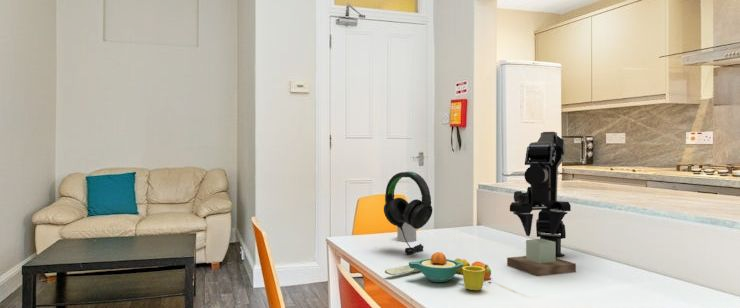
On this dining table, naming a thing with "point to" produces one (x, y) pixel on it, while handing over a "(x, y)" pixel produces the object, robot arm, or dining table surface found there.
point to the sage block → (541, 250)
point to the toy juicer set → (447, 270)
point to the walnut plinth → (541, 266)
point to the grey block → (406, 233)
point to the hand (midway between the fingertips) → (540, 235)
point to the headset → (408, 207)
